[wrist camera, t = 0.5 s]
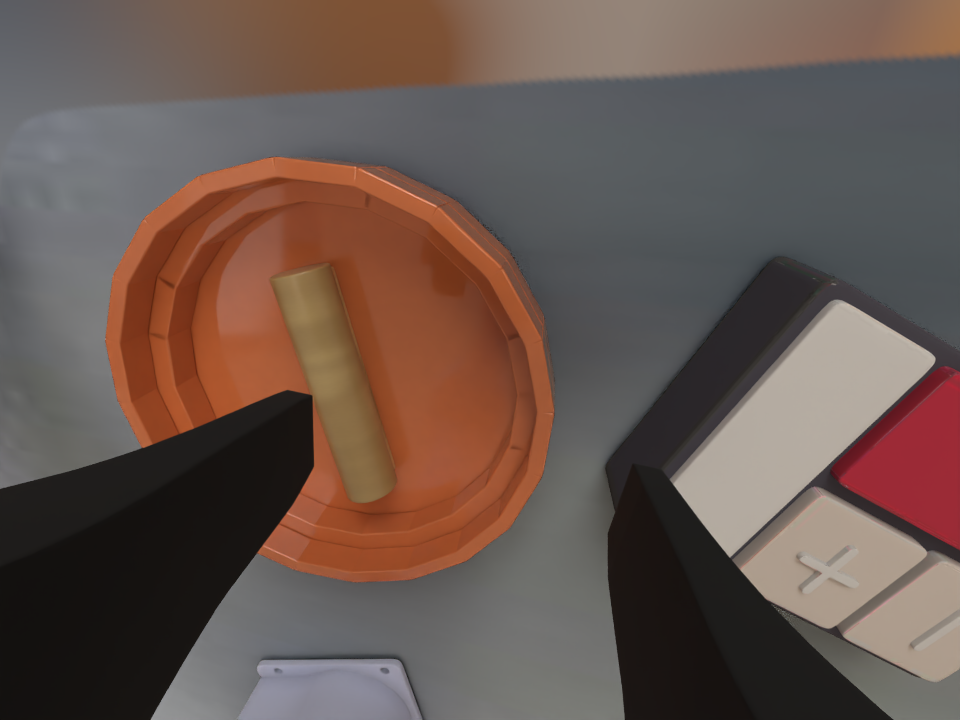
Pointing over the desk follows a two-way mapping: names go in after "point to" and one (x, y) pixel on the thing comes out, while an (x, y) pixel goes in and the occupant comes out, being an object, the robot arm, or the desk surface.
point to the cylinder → (336, 379)
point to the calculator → (824, 462)
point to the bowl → (380, 337)
